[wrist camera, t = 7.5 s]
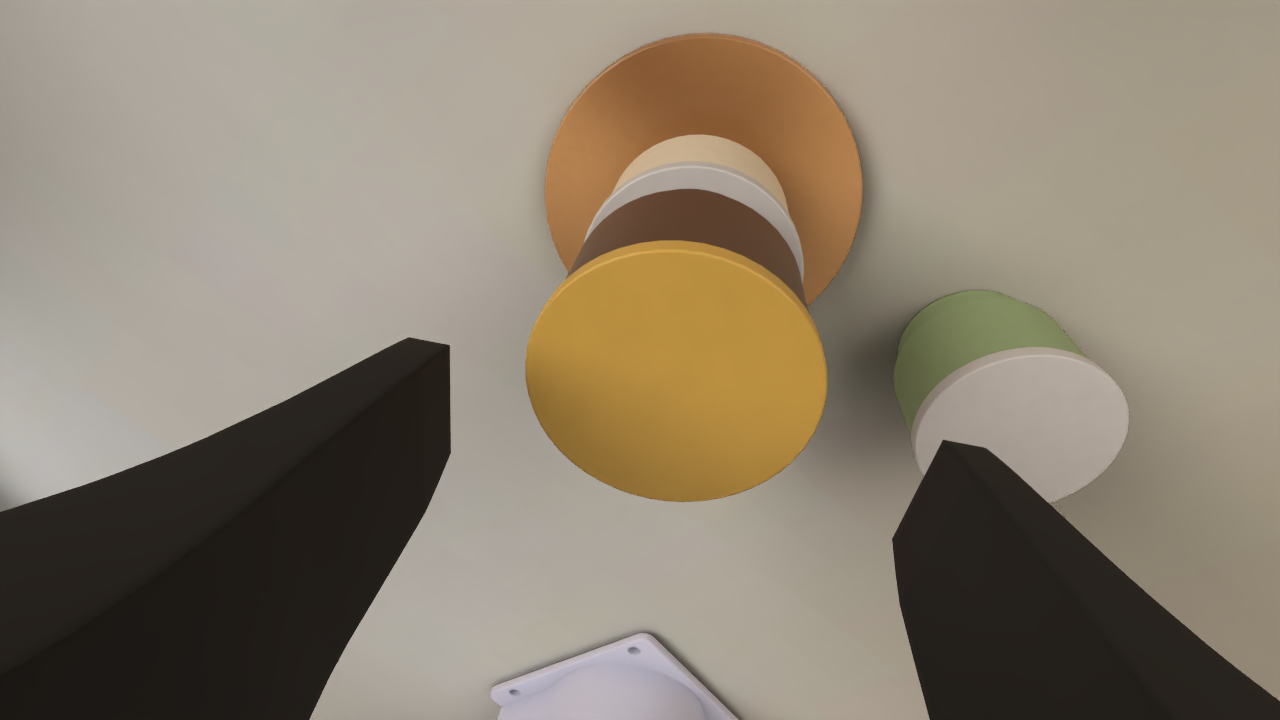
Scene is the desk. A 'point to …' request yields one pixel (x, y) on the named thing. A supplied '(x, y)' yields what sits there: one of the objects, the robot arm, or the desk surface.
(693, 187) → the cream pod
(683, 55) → the coaster
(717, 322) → the brown pod
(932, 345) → the cylinder
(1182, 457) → the desk surface
